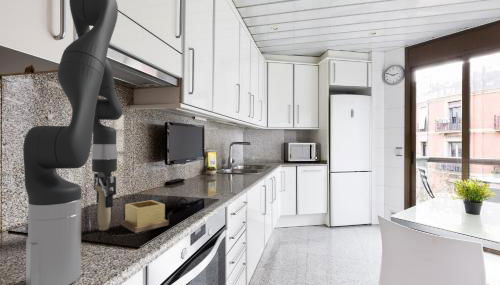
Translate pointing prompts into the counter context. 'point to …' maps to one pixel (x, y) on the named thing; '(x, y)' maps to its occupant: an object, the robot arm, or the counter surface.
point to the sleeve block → (144, 216)
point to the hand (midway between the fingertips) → (104, 205)
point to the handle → (102, 210)
